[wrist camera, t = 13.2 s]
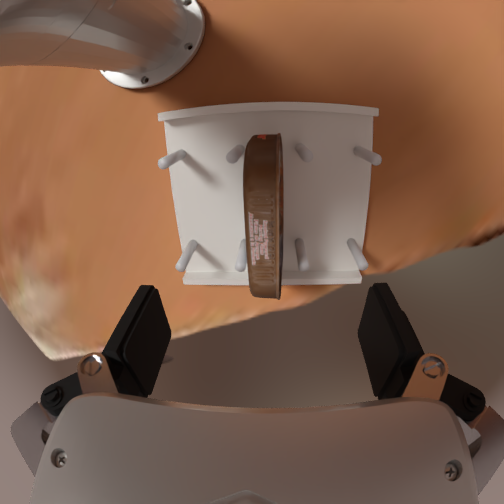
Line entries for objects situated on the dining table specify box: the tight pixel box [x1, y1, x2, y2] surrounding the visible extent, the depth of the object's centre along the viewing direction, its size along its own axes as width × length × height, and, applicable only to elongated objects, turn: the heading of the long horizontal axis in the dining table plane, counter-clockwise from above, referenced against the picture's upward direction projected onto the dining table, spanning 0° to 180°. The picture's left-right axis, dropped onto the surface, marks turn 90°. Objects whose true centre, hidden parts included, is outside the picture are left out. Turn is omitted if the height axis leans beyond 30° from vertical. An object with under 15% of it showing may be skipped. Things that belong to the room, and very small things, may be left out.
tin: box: [243, 133, 284, 300], centre depth 24 cm, size 15×3×8 cm, turn 2°
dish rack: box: [158, 102, 382, 285], centre depth 25 cm, size 19×20×6 cm
